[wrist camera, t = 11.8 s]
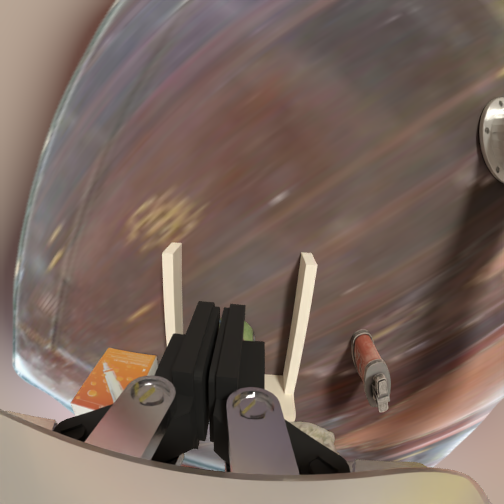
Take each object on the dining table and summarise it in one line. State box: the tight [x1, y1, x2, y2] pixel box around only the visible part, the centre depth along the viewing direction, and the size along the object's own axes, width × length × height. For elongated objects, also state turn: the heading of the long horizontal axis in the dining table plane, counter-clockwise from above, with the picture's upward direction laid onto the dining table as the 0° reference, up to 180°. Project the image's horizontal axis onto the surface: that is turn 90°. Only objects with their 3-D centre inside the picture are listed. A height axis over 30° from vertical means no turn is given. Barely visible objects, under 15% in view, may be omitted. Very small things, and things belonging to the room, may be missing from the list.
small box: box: [71, 348, 158, 416], centre depth 36 cm, size 8×6×13 cm
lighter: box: [351, 330, 391, 412], centre depth 36 cm, size 8×3×10 cm, turn 18°
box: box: [162, 243, 317, 422], centre depth 35 cm, size 16×20×8 cm
